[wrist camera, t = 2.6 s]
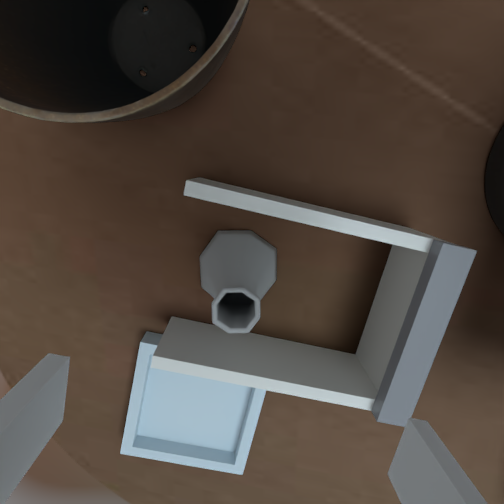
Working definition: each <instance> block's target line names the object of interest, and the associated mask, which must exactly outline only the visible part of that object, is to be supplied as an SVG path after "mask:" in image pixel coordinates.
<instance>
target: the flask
mask: <svg viewBox="0 0 504 504" xmlns="http://www.w3.org/2000/svg"><path fill="white" fill-rule="evenodd" d="M200 276H201V287H202V288H203V289H204V290H205V291H207V292H208V293H209V294H210V295H211V296H212V297H213V298H214V300H213V302H212V323H213V324H215V325H216V326H218V327H220V328H221V329H223V330H224V331H226V332H227V333H249V332H250V330H251V329H252V328H253V327H254V325H255V324H256V323H257V322H258V320H259V319H260V300H261V299H262V298H263V297H264V295H265V294H266V293H267V291H268V290H269V289H270V288H271V286H272V285H273V284H274V282H275V281H276V280H277V249H276V248H275V247H274V246H272V245H271V244H269V243H268V242H267V241H265V240H264V239H262V238H261V237H260V236H258V235H257V234H256V233H254V232H253V231H251V230H226V231H217V233H216V234H215V236H214V237H213V238H212V240H211V241H210V243H209V244H208V245H207V247H206V248H205V249H204V251H203V252H202V254H201V255H200Z"/></svg>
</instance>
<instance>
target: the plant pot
mask: <svg viewBox="0 0 504 504" xmlns="http://www.w3.org/2000/svg"><path fill="white" fill-rule="evenodd" d="M249 1H250V0H0V108H2V109H5V110H8V111H11V112H14V113H17V114H20V115H23V116H27V117H31V118H35V119H40V120H45V121H55V122H65V123H98V122H116V121H127V120H134V119H141V118H145V117H149V116H153V115H156V114H160V113H162V112H165V111H168V110H170V109H173V108H175V107H177V106H179V105H181V104H182V103H184V102H186V101H187V100H189V99H190V98H191V97H193V96H194V95H196V94H197V93H198V92H199V91H200V90H201V89H202V88H203V87H204V86H205V85H206V84H207V83H208V82H209V81H210V80H211V79H212V77H213V76H214V75H215V74H216V72H217V71H218V69H219V68H220V67H221V65H222V63H223V62H224V60H225V58H226V56H227V55H228V53H229V51H230V49H231V47H232V45H233V43H234V41H235V39H236V36H237V34H238V32H239V29H240V26H241V24H242V21H243V18H244V15H245V13H246V10H247V7H248V4H249ZM144 6H147V7H148V9H149V10H148V11H146V12H145V13H143V7H144ZM191 45H195V46H196V47H197V50H196V51H195V52H191V51H189V47H190V46H191ZM141 69H142V70H143V71H145V72H146V76H141V75H140V73H139V70H141Z"/></svg>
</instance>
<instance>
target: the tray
mask: <svg viewBox="0 0 504 504" xmlns="http://www.w3.org/2000/svg"><path fill="white" fill-rule="evenodd" d="M162 335H163V334H158V333H153V332H148V331H147V332H146V333H145V335H144V337H143V338H142V340H141V342H140V347H139V352H138V358H137V363H136V369H135V374H134V380H133V385H132V391H131V396H130V402H129V408H128V413H127V419H126V424H125V430H124V435H123V441H122V446H121V452H120V454H125V455H131V456H137V457H143V458H148V459H154V460H160V461H165V462H171V463H177V464H183V465H188V466H194V467H200V468H206V469H211V470H217V471H223V472H228V473H234V474H240V475H243V471H244V468H245V464H246V460H247V457H248V453H249V450H250V446H251V443H252V439H253V436H254V432H255V428H256V425H257V421H258V418H259V414H260V411H261V407H262V404H263V400H264V396H265V393H266V390H263V389H258V388H253V387H248V386H242V385H237V384H232V383H227V382H222V381H217V380H212V379H207V378H201V377H196V376H191V375H186V374H181V373H176V372H171V371H166V370H161V369H155V368H150V367H151V362H152V357H153V354H154V352H155V350H156V348H157V346H158V344H159V342H160V340H161V337H162Z"/></svg>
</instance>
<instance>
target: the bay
mask: <svg viewBox="0 0 504 504" xmlns="http://www.w3.org/2000/svg"><path fill="white" fill-rule="evenodd" d="M184 195H185V196H189V197H194V198H198V199H202V200H206V201H210V202H215V203H219V204H223V205H227V206H232V207H236V208H240V209H244V210H249V211H253V212H257V213H261V214H266V215H270V216H274V217H278V218H283V219H287V220H291V221H295V222H300V223H304V224H308V225H312V226H317V227H321V228H325V229H329V230H334V231H338V232H342V233H346V234H351V235H355V236H359V237H363V238H368V239H372V240H376V241H380V242H384V243H389V244H393V245H392V248H391V251H390V254H389V257H388V260H387V263H386V266H385V268H384V271H383V274H382V277H381V280H380V283H379V286H378V289H377V292H376V295H375V298H374V301H373V304H372V307H371V310H370V313H369V316H368V319H367V322H366V325H365V328H364V331H363V333H362V336H361V339H360V342H359V345H358V348H357V351H356V354H351V353H346V352H341V351H337V350H332V349H327V348H322V347H317V346H313V345H308V344H303V343H298V342H293V341H288V340H284V339H279V338H274V337H269V336H264V335H260V334H255V333H250V332H249V333H227V332H226V331H224V330H223V329H221V328H220V327H218V326H216V325H211V324H207V323H202V322H197V321H192V320H187V319H183V318H178V317H173V316H172V317H171V319H170V321H169V323H168V325H167V327H166V329H165V331H164V333H163V335H162V337H161V340H160V342H159V344H158V346H157V348H156V350H155V352H154V354H153V357H152V362H151V367H150V368H155V369H161V370H166V371H171V372H176V373H181V374H186V375H191V376H196V377H201V378H207V379H212V380H217V381H222V382H227V383H232V384H237V385H242V386H248V387H253V388H258V389H263V390H268V391H273V392H278V393H283V394H289V395H294V396H299V397H304V398H309V399H314V400H319V401H324V402H330V403H335V404H340V405H345V406H350V407H355V408H360V409H365V410H371V411H372V413H373V415H374V417H375V419H376V421H377V422H382V423H387V424H392V425H398V426H403V427H405V426H406V424H407V421H408V419H409V418H411V416H412V414H413V411H414V409H415V406H416V404H417V401H418V398H419V396H420V393H421V391H422V388H423V386H424V383H425V381H426V378H427V376H428V373H429V371H430V368H431V366H432V363H433V361H434V358H435V356H436V353H437V351H438V348H439V346H440V343H441V340H442V338H443V335H444V333H445V330H446V328H447V325H448V323H449V320H450V318H451V315H452V313H453V310H454V308H455V305H456V303H457V300H458V298H459V295H460V293H461V290H462V288H463V285H464V283H465V280H466V277H467V275H468V272H469V270H470V267H471V265H472V262H473V260H474V257H475V255H476V252H477V251H476V250H473V249H470V248H468V247H464V246H460V245H456V244H453V243H450V242H448V241H445V240H442V239H439V238H437V237H434V236H431V235H428V234H426V233H423V232H420V231H417V230H414V229H412V228H408V227H404V226H400V225H396V224H392V223H388V222H383V221H379V220H375V219H371V218H367V217H363V216H359V215H354V214H350V213H346V212H342V211H338V210H334V209H329V208H325V207H321V206H317V205H313V204H309V203H305V202H300V201H296V200H292V199H288V198H284V197H280V196H275V195H271V194H267V193H263V192H259V191H255V190H250V189H246V188H242V187H238V186H234V185H230V184H226V183H221V182H217V181H213V180H209V179H205V178H201V177H198V178H194V179H189V180H186V185H185V190H184Z"/></svg>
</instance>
